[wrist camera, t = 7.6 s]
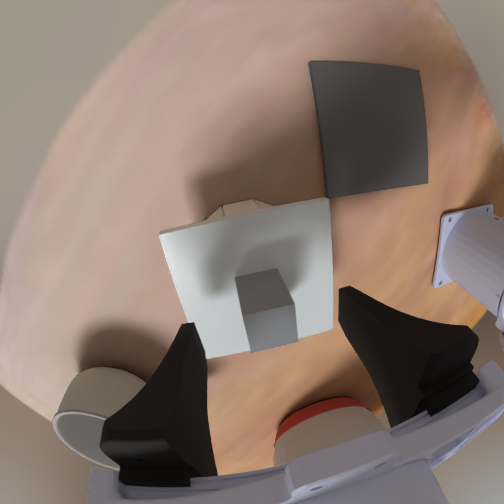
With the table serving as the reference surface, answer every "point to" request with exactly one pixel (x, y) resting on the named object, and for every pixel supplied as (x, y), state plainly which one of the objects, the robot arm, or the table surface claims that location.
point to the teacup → (93, 409)
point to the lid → (255, 276)
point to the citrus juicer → (322, 428)
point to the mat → (370, 126)
